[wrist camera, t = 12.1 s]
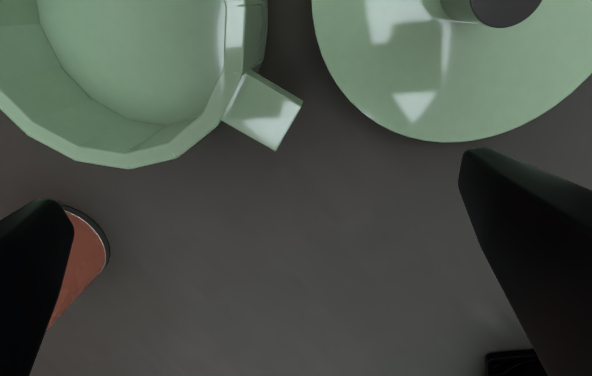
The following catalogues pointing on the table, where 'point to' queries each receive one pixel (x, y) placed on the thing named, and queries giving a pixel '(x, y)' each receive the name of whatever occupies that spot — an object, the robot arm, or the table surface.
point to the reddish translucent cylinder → (81, 260)
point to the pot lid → (455, 61)
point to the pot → (138, 76)
